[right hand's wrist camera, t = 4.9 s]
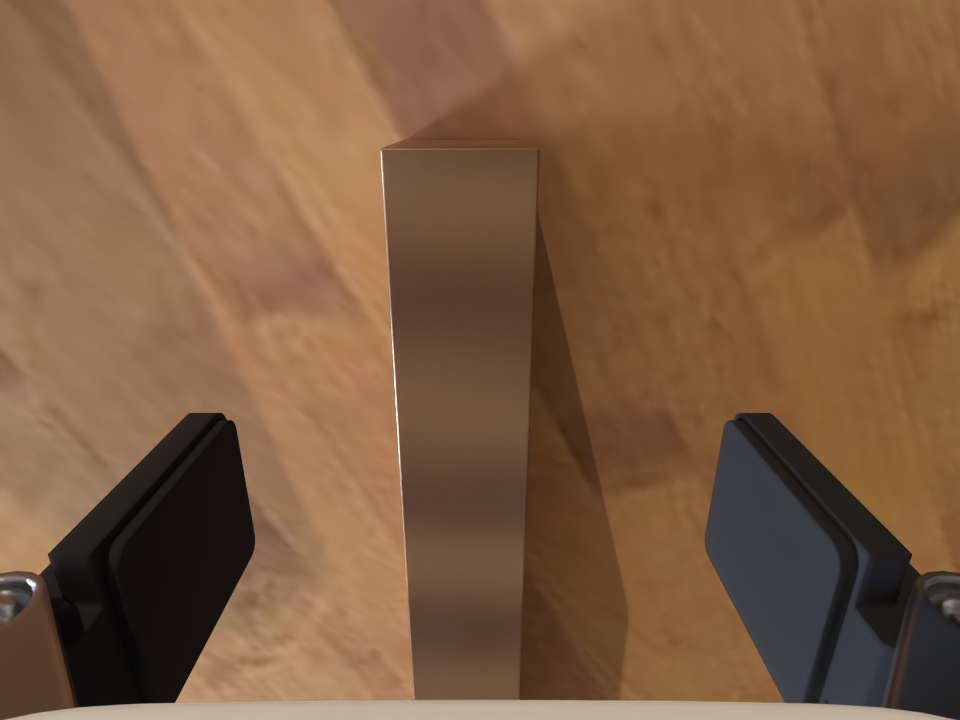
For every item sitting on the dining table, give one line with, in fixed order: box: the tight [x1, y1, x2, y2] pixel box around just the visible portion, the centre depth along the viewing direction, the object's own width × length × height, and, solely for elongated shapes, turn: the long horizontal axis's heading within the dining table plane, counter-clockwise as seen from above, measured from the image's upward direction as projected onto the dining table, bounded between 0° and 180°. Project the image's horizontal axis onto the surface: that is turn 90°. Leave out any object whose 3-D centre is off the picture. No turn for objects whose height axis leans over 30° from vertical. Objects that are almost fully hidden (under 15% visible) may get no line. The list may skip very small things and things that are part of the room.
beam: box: [380, 139, 540, 700], centre depth 30 cm, size 53×5×6 cm, turn 0°
